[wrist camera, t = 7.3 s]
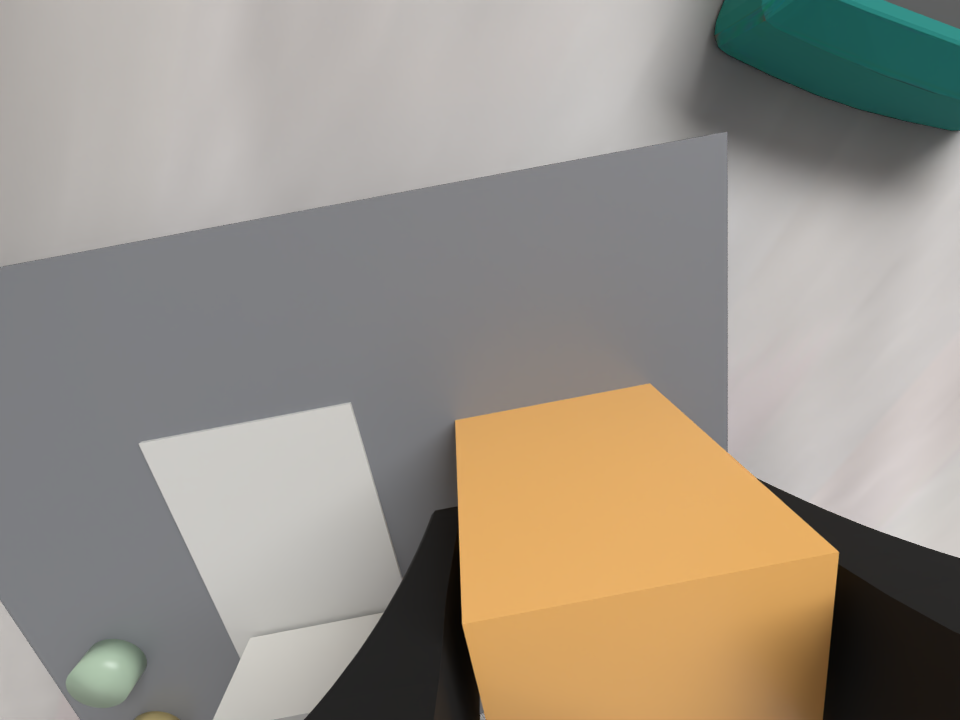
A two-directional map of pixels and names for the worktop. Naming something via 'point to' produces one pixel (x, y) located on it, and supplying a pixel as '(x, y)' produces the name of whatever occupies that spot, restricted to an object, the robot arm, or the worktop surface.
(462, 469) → the block
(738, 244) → the worktop surface
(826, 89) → the digital multimeter
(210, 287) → the grey flat plate
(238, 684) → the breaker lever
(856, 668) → the robot arm
